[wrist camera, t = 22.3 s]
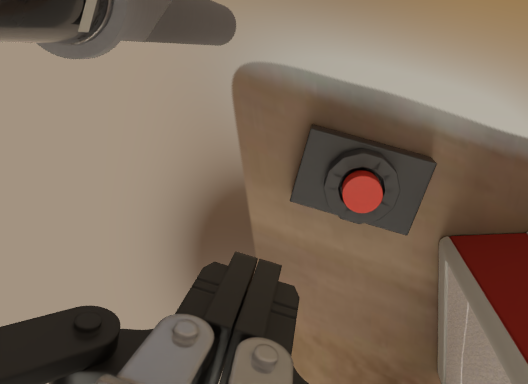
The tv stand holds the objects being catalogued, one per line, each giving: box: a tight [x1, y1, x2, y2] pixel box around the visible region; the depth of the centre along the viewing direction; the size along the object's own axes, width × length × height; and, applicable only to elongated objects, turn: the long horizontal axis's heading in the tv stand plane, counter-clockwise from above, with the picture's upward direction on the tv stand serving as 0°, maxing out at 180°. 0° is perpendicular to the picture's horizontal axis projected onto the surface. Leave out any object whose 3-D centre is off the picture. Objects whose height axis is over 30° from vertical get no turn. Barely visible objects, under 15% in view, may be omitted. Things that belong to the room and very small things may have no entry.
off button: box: [342, 170, 383, 213], centre depth 35 cm, size 3×3×2 cm
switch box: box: [290, 124, 437, 235], centre depth 37 cm, size 11×7×4 cm, turn 76°
